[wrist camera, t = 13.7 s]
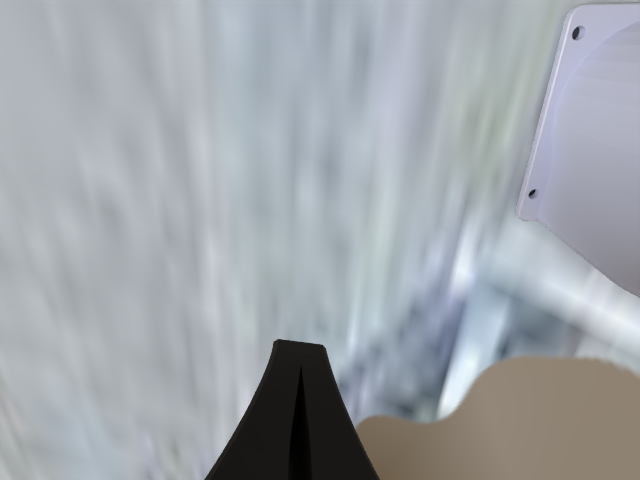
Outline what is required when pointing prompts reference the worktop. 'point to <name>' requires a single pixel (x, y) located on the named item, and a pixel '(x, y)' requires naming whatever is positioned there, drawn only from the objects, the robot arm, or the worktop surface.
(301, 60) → the worktop surface
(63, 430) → the worktop surface
